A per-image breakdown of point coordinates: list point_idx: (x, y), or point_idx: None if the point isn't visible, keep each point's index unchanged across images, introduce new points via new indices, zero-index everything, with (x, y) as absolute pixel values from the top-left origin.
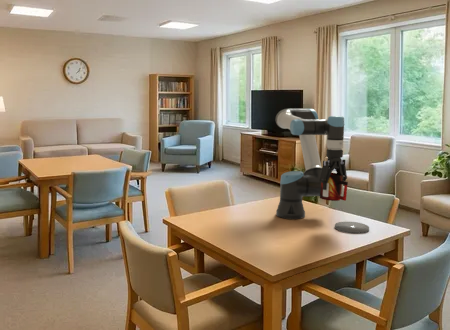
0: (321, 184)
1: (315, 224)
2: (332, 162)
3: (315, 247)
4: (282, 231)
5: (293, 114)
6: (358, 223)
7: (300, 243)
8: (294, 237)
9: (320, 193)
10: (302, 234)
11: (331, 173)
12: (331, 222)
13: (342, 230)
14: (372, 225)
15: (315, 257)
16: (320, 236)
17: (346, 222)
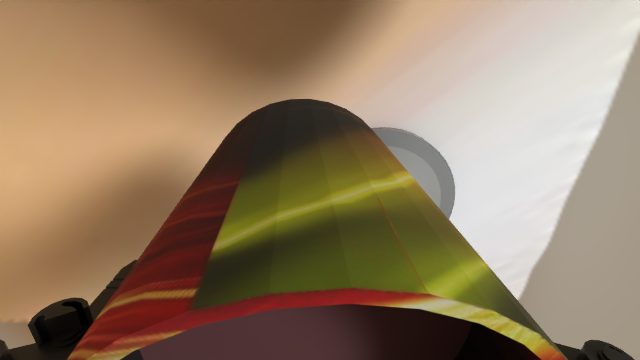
0: (175, 208)
1: (292, 48)
2: None
3: (67, 257)
4: (34, 26)
5: None
6: (438, 200)
7: (33, 202)
8: (48, 136)
9: (214, 153)
10: (111, 127)
11: (528, 341)
12: (395, 77)
13: None
14: (487, 222)
15: (13, 306)
16: (170, 191)
17: (412, 158)
